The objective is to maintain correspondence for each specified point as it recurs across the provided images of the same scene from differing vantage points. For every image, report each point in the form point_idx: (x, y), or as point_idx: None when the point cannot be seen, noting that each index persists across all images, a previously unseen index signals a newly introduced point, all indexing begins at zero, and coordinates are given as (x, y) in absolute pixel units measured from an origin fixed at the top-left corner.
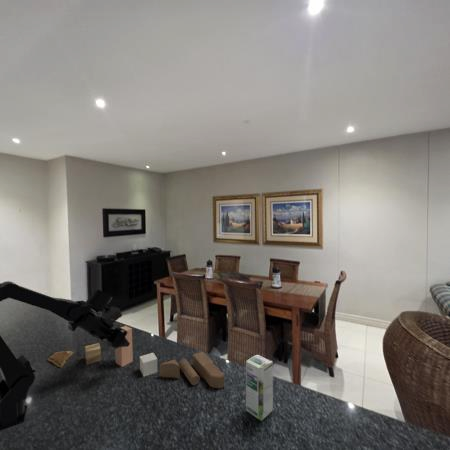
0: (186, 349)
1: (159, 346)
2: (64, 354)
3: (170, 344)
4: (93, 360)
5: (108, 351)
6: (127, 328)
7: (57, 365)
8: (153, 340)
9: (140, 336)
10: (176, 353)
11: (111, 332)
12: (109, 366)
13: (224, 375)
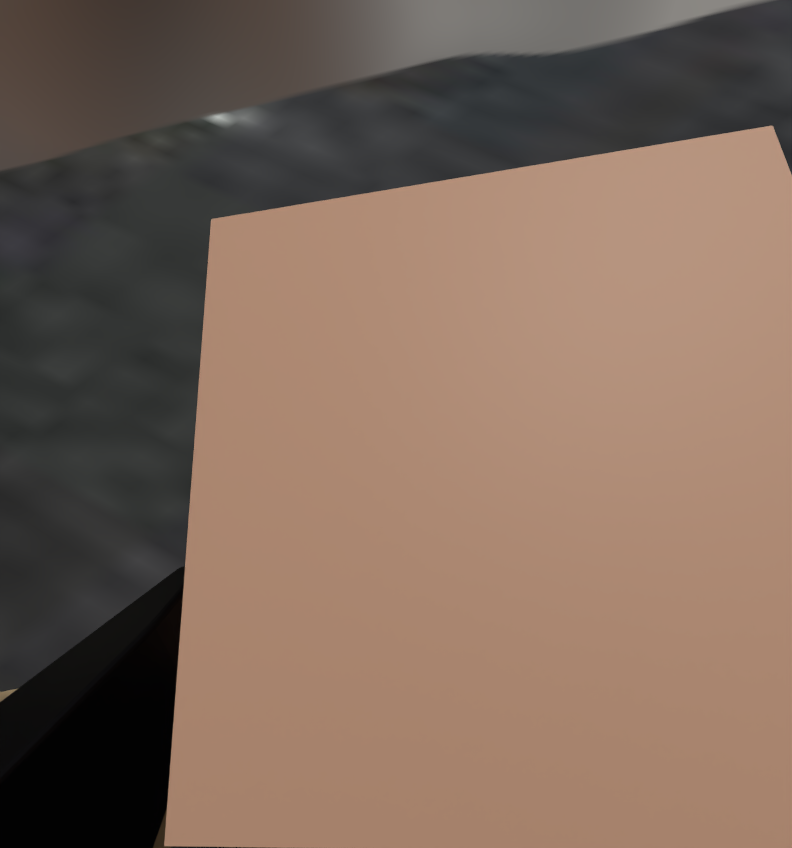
0: (756, 6)
1: (483, 151)
2: None
3: (535, 68)
4: (160, 842)
5: (111, 562)
6: (590, 261)
7: None
8: (323, 144)
9: (143, 195)
10: (759, 96)
11: (34, 764)
12: None
13: None
